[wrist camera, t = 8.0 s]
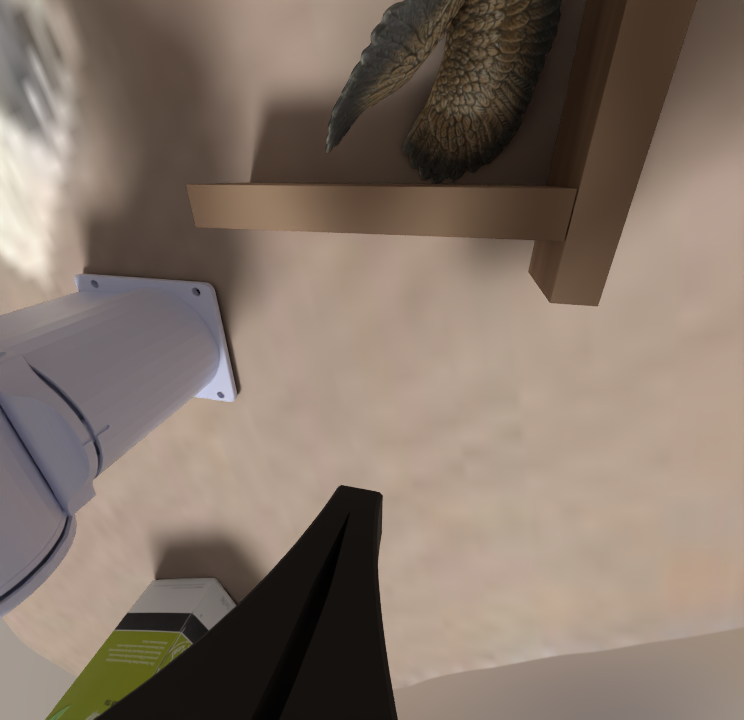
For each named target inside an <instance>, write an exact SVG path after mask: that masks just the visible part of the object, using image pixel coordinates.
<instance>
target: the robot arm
mask: <svg viewBox="0 0 744 720" xmlns="http://www.w3.org/2000/svg"><path fill="white" fill-rule="evenodd" d="M75 283H76V285H77V288H78V290H79V292H76V293H73V294H70V295H67V296H63V297H60V298H57V299H53V300H50V301H47V302H43V303H40V304H37V305H34V306H30V307H27V308H24V309H20V310H17V311H14V312H10V313H7V314H4V315H1V316H0V618H1V617H3V616H4V615H6V614H7V613H9V612H10V611H11V610H13V609H14V608H15V607H17V606H18V605H19V604H20V603H21V602H23V601H24V600H25V599H26V598H28V597H29V596H30V595H31V594H32V593H33V592H34V591H35V590H36V589H37V588H38V587H39V586H40V585H42V584H43V583H44V582H45V581H46V580H47V578H48V577H49V576H50V575H51V574H52V573H53V572H54V570H55V569H56V568H57V567H58V566H59V564H60V563H61V561H62V560H63V559H64V557H65V556H66V554H67V552H68V551H69V549H70V547H71V545H72V543H73V540H74V537H75V534H76V526H77V522H76V517H75V513H76V512H77V511H78V510H79V509H80V508H82V507H83V506H84V505H85V504H86V503H87V502H88V501H90V500H91V499H92V498H93V497H94V496H95V495H96V493H95V491H94V488H93V480H94V479H95V478H96V477H97V476H98V475H100V474H101V473H102V472H103V471H104V470H106V469H107V468H108V467H109V466H110V465H112V464H113V463H114V462H115V461H117V460H118V459H119V458H120V457H121V456H123V455H124V454H125V453H126V452H127V451H129V450H130V449H131V448H132V447H133V446H135V445H136V444H137V443H138V442H140V441H141V440H142V439H143V438H144V437H146V436H147V435H148V434H149V433H150V432H152V431H153V430H154V429H155V428H156V427H158V426H159V425H160V424H161V423H163V422H164V421H165V420H166V419H167V418H169V417H170V416H171V415H172V414H173V413H175V412H176V411H177V410H178V409H179V408H181V407H182V406H183V405H184V404H186V403H187V402H188V401H189V400H190V399H192V398H193V397H200V398H207V399H213V400H220V401H227V402H232V401H234V400H235V399H236V398H237V391H236V386H235V381H234V377H233V372H232V367H231V362H230V358H229V353H228V348H227V344H226V339H225V334H224V330H223V325H222V320H221V316H220V311H219V306H218V302H217V297H216V292H215V289H214V287H213V286H212V285H211V284H209V283H207V282H195V281H181V280H167V279H154V278H140V277H126V276H112V275H98V274H84V273H83V274H79V275H76V276H75ZM196 288H197V289H198V290H199V291H200V294H199V293H198V292H197V290H196ZM221 392H222V393H223V394H224V395H223V394H222V393H221ZM382 499H383V495H382V494H381V493H380V492H376V491H371V490H365V489H360V488H354V487H349V486H344V485H341V486H339V487H338V488H337V489H336V491H335V492H334V494H333V495H332V497H331V498H330V500H329V501H328V503H327V504H326V505H325V507H324V508H323V509H322V511H321V512H320V513H319V515H318V516H317V517H316V519H315V520H314V521H313V523H312V524H311V525H310V526H309V528H308V529H307V530H306V531H305V532H304V534H303V535H302V536H301V537H300V539H299V540H298V541H297V542H296V543H295V545H294V546H293V547H292V548H291V549H290V550H289V551H288V553H287V554H286V555H285V556H284V557H283V558H282V559H281V560H280V561H279V563H278V564H277V565H276V566H275V567H274V568H273V569H272V570H271V571H270V572H269V574H268V575H267V576H266V577H265V578H264V579H263V580H262V581H261V582H260V583H259V584H258V585H257V586H256V587H255V588H254V589H253V590H252V591H251V592H250V593H249V594H248V595H247V596H246V597H245V598H244V599H243V600H242V601H241V602H240V603H238V604H237V605H236V606H235V607H234V608H233V609H232V610H231V611H230V612H229V613H228V614H226V615H225V616H224V617H223V618H222V619H221V620H220V621H219V622H218V623H217V624H215V625H214V626H213V627H212V628H211V629H210V630H209V631H207V632H206V633H205V634H204V635H203V636H202V637H200V638H199V639H198V640H197V641H196V642H194V643H193V644H192V645H191V646H190V647H188V648H187V649H186V650H185V651H183V652H182V653H181V654H180V655H178V656H177V657H176V658H175V659H173V660H172V661H171V662H170V663H168V664H167V665H166V666H165V667H164V668H162V669H161V670H160V671H159V672H157V673H156V674H155V675H153V676H152V677H151V678H149V679H148V680H147V681H145V682H144V683H143V684H141V685H140V686H139V687H137V688H136V689H135V690H133V691H132V692H130V693H129V694H128V695H126V696H125V697H124V698H122V699H121V700H119V701H118V702H117V703H115V704H114V705H113V706H111V707H110V708H108V709H107V710H106V711H104V712H103V713H102V714H100V715H99V716H97V717H96V718H95V719H93V720H398V719H397V713H396V707H395V702H394V696H393V690H392V684H391V678H390V672H389V666H388V659H387V652H386V645H385V638H384V630H383V622H382V613H381V603H380V591H379V579H378V556H379V547H380V541H381V534H382Z"/></svg>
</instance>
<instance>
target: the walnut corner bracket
mask: <svg viewBox="0 0 744 720" xmlns="http://www.w3.org/2000/svg"><path fill="white" fill-rule="evenodd" d="M696 2H697V0H587V1H586V6H585V11H584V15H583V20H582V25H581V29H580V34H579V38H578V43H577V48H576V52H575V57H574V62H573V66H572V71H571V76H570V80H569V85H568V90H567V94H566V99H565V104H564V108H563V113H562V118H561V122H560V127H559V132H558V136H557V141H556V145H555V150H554V155H553V159H552V164H551V169H550V173H549V178H548V183H547V185H472V184H356V183H220V184H188V185H186V187H187V191H188V196H189V200H190V205H191V209H192V214H193V218H194V223H195V227H201V228H228V229H255V230H282V231H308V232H335V233H362V234H389V235H415V236H442V237H469V238H496V239H522V240H535V243H534V248H533V252H532V257H531V262H530V266H529V271H528V272H529V274H530V275H531V276H532V278H533V279H534V281H535V282H536V284H537V285H538V286H539V288H540V289H541V291H542V292H543V294H544V295H545V296H546V298H547V299H548V301H549V302H550V303H558V304H572V305H587V306H598V304H599V301H600V298H601V295H602V292H603V289H604V286H605V283H606V279H607V276H608V273H609V270H610V267H611V264H612V261H613V258H614V255H615V252H616V249H617V245H618V242H619V239H620V236H621V233H622V230H623V227H624V224H625V221H626V218H627V215H628V212H629V208H630V205H631V202H632V199H633V196H634V193H635V190H636V187H637V184H638V181H639V178H640V174H641V171H642V168H643V165H644V162H645V159H646V156H647V153H648V150H649V147H650V144H651V141H652V137H653V134H654V131H655V128H656V125H657V122H658V119H659V116H660V113H661V110H662V107H663V104H664V100H665V97H666V94H667V91H668V88H669V85H670V82H671V79H672V76H673V73H674V70H675V66H676V63H677V60H678V57H679V54H680V51H681V48H682V45H683V42H684V39H685V36H686V33H687V29H688V26H689V23H690V20H691V17H692V14H693V11H694V8H695V5H696Z"/></svg>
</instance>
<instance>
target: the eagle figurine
mask: <svg viewBox="0 0 744 720" xmlns="http://www.w3.org/2000/svg"><path fill="white" fill-rule="evenodd" d="M561 1H562V0H404V1H403V2H398V3H395V4H394V5H392V6H391V7H389V8H388V9H387V10H386V11H385V13H384V14H383V18H382V21H381V23H380V24H378V25H377V26H376V27H375V28H374V30H373V32H372V33H371V44H370V45H369V46H368V47H367V48H365V49H364V50H363V52H362V54H361V60H360V62H359V63H358V64H357V65H356V66H355V68H354V69H353V71H352V73H351V75H350V78H349V80H348V82H347V84H346V85H345V87H344V89H343V90H342V93H341V96H340V97H339V99H338V101H337V102H336V104H335V106H334V108H333V110H332V116H331V120H330V122H329V125H328V130H329V132H328V135H327V137H326V152H327V153H329V152H330V151H331V150H332V148H333V147H335V146H337V145H338V144H339V142H340V141H341V140H342V138H343V137H344V136H345V134H346V133H347V132H348V130H349V129H350V127H351V125H352V124H353V123H354V122H355V120H356V119H357V118H358V116H359V115H360V114H361V113H362V112H363V111H364V110H365V109H366V108H368V107H369V106H372V105H375V104H376V103H378V102H379V101H380V100H382V99H383V98H385V97H387V96H389V95H391V94H392V93H394V92H395V91H397V90H398V89H399V88H400V87H402V86H403V85H404V84H406V83H407V82H408V81H409V80H410V78H411V77H412V76H413V75H414V73H415V72H416V71H417V70H418V68H419V67H420V66H421V65H422V63H423V62H424V61H425V60H426V58H427V57H428V56H429V54H430V53H431V52H432V51H433V49H434V48H435V47H436V45H437V43H438V42H439V41H440V39H441V38H442V37H443V35H444V33H445V31H446V30H447V38H446V44H445V50H444V56H443V59H442V62H441V65H440V68H439V71H438V74H437V77H436V80H435V82H434V85H433V88H432V91H431V93H430V96H429V99H428V101H427V104H426V106H425V107H424V108H423V110H422V112H421V113H420V115H419V116H418V118H417V119H416V121H415V123H414V125H413V127H412V129H411V130H410V132H409V133H408V135H407V137H406V139H405V142H404V144H403V147H402V151H403V153H404V154H406V155H408V156H409V161H410V166H411V167H412V168H419V175H420V177H421V179H423V180H427V179H429V178H430V179H431V181H432V183H434V184H439V183H441V182H442V181H443V180H445V179H446V178H449V180H450V181H455V180H457V179H459V178H460V177H461V176H462V175H463V173H464V172H465V170H466V169H467V168H468V169H469V170H470V172H475V171H476V170H477V169H478V167H479V166H480V165H481V164H482V163H484V164H487V163H489V162H491V161H492V160H493V158H494V157H495V156H497V155H498V154H499V153H500V152H501V150H502V147H503V146H505V145H507V144H508V143H509V142H510V140H511V139H512V136H513V133H514V132H515V131H516V130H518V128H519V126H520V124H521V119H522V115H523V114H524V113H525V111H526V109H527V106H528V104H529V102H530V100H531V97H532V88H533V87H534V86H535V85H536V83H537V81H538V78H539V74H540V73H541V71H542V69H543V66H544V62H545V55H546V54H547V53H548V52H549V51H550V49H551V47H552V42H553V40H554V38H555V36H556V34H557V25H558V22H559V20H560V15H561V13H560V3H561Z"/></svg>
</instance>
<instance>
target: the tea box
mask: <svg viewBox="0 0 744 720" xmlns="http://www.w3.org/2000/svg"><path fill="white" fill-rule="evenodd" d="M235 606H236V604H235V603H234V601H233V600H232V599H231V597H230V596H229V595H228V593H227V592H226V591H225V589H224V588H223V587H222V585H221V584H220V583H219V581H218V580H217V579H216V578H183V579H161V580H154V581H152V582H151V584H150V585H149V586H148V588H147V589H146V590H145V591H144V593H143V594H142V595H141V596H140V598H139V599H138V600H137V601H136V603H135V604H134V605H133V607H132V608H131V609H130V611H129V612H128V613H127V614H126V616H125V617H124V618H123V619H122V621H121V622H120V623H119V625H118V626H117V627H116V629H115V630H114V631H113V632H112V634H111V635H110V636H109V638H108V639H107V640H106V641H105V643H104V644H103V645H102V647H101V648H100V649H99V651H98V652H97V653H96V654H95V656H94V657H93V658H92V660H91V661H90V662H89V664H88V665H87V666H86V667H85V669H84V670H83V671H82V673H81V674H80V675H79V677H78V678H77V679H76V680H75V682H74V683H73V684H72V686H71V687H70V688H69V690H68V691H67V692H66V693H65V695H64V696H63V697H62V698H61V700H60V701H59V702H58V704H57V705H56V706H55V708H54V709H53V711H52V712H51V713H50V714H49V716H48V717H47V718H46V720H93V719H95V718H96V717H97V716H99V715H100V714H102V713H103V712H104V711H106V710H107V709H108V708H110V707H111V706H113V705H114V704H115V703H117V702H118V701H119V700H121V699H122V698H124V697H125V696H126V695H128V694H129V693H130V692H132V691H133V690H135V689H136V688H137V687H139V686H140V685H141V684H143V683H144V682H145V681H147V680H148V679H149V678H151V677H152V676H153V675H155V674H156V673H157V672H159V671H160V670H161V669H162V668H164V667H165V666H166V665H167V664H168V663H170V662H171V661H172V660H173V659H175V658H176V657H177V656H178V655H180V654H181V653H182V652H183V651H185V650H186V649H187V648H188V647H190V646H191V645H192V644H193V643H194V642H196V641H197V640H198V639H199V638H200V637H202V636H203V635H204V634H205V633H206V632H207V631H209V630H210V629H211V628H212V627H213V626H214V625H215V624H217V623H218V622H219V621H220V620H221V619H222V618H223V617H224V616H225V615H226V614H228V613H229V612H230V611H231V610H232V609H233V608H234V607H235Z"/></svg>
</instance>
